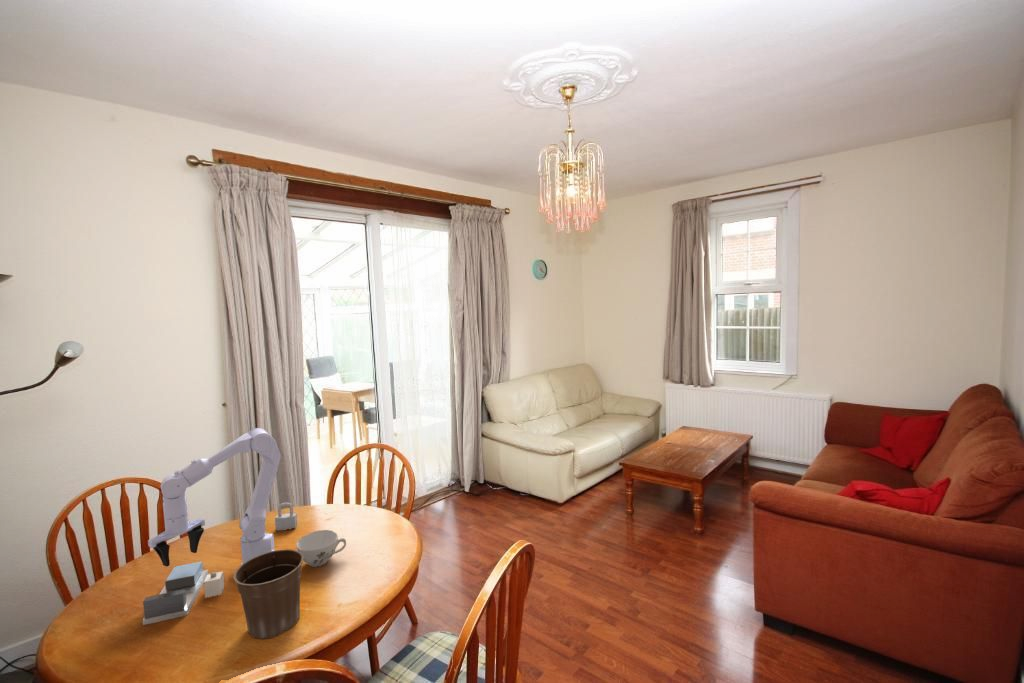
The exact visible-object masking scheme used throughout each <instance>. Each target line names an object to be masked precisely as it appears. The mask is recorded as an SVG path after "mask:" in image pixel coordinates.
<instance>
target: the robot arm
mask: <svg viewBox="0 0 1024 683" xmlns="http://www.w3.org/2000/svg"><path fill="white" fill-rule="evenodd" d="M251 449H252V450H253V451H254V452H256V453H257V454H259V455H260V457H262V463H261V465H260V470H259V473H258V475H257V480H256V482H255V485H254V489H253V493H252V495H251V496H252V497H251V500H250V503H249V505H248V507H247V509H246V510H245V513H244V515H243V516H242V517H241V518H240V521H239V522H238V523H239V524H238V526H239V529H240V530H241V532H242V534H241V537H240V549H241V550H240V551H241V564H240V566H241V565H242V564H243V563H245V562H246V561H248V560H250V559H252V558H254V557H256V556H258V555H261V554H264V553H267V552H271V551H275V550H276V549H275V539H274V537H275V536H274V533H268V532H267V533H266V530H267V527H266V520H267V506H268V503H269V500H270V496H271V494H272V493H271V492H272V489H273V486H274V483H275V478H276V475H277V472H278V468H279V465H280V461H281V458H282V455H281V452H280V448H279V446H278V445H277V440H275V438H274V437H273V436H272V435H271V434H270V433H268V431H267V430H265V429H264V428H260V427H255V428H253V429H251V430H250V431H249V432H246V433H244V434H242V435H240V436H239V437H238V438H236V439H235V440H233V441H232V442H231V443H229V444H227V445H226V446H225V447H222V448H221V449H220V450H218V451H216V452H215V453H214V454H212V455H211V456H209V457H208V458H203V457H202V458H198V459H196V458H195V459H193V460H191V461H190V464H188V465H187V466H185V467H184V468H183V467H182V469H181V470H175V471H174V474H169V475H167V476H165V477H164V478H163V479H162V481H161V483H160V489H161V494H162V510H163V520H164V529H165V531H163V532H161V533H159V534H158V535H156V536H155V537H153V538H150V539H148V540H147V544H148V547H149V548H152V549H153V550H154V551H155V553H156V554H157V555H158V557H159V558H160V561H161V563H162V565H163V566H164V567H169V566H170V547H171V545H170V544H168V543H167V541H169V540H173V539H174V538H176V537H179V536H181V535H184V534H187V537H188V541H189V550H190V552H191V553H193V554H196V553H197V552H198V549H199V548H198V547H199V545H200V544H199V543H200V540H201V537H202V536H203V533H204V531H205V530H204V529H205V528H204V526H206V521H205V519H204V518H198V519H195V520H192V521H189V512H188V510H189V509H188V504H187V503H188V502H187V497H186V490H187V488H190V487H192V486H193V485H195V484H197V483H198V482H200V481H201V480H203V479H205V478H206V477H208V476H209V475H210V474H211V475H212V473H213V469H214V468H215V467H217V466H218V465H221V464H222V463H223V462H226V461H227V460H230V458H232V457H234V456H235V455H237V454H239V453H249V454H250V453H252V450H251Z"/></svg>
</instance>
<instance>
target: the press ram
mask: <svg viewBox="0 0 1024 683" xmlns="http://www.w3.org/2000/svg"><path fill="white" fill-rule="evenodd" d="M203 568H204V567H203V561H202V560H201V561H197V562H193V563H192V562H191V563H186V564H182V565H177V566H174V567H173V569H172V570H171V572H170V574H169V575H168V577H167V578H166V580H165V581H164V583H165V585H164V586H166V591H167V590H172V589H177V588H181V587H186V586H191V585H195V583H196V582H197V580H198V578H199V576H200V574H201V572H202V571H203V570H204V569H203Z"/></svg>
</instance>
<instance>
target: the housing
mask: <svg viewBox="0 0 1024 683" xmlns="http://www.w3.org/2000/svg"><path fill="white" fill-rule="evenodd" d="M203 588H204V599H208V598H211V597H212V596H213V597H217V595H218V596H221V595H222V594H223V591H224V588H225V580H224V571H218V572H216V571H213V572H211V573H208V575H207V577H206V578H205V580H204V584H203ZM221 593H222V594H221ZM207 597H208V598H207Z"/></svg>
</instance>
